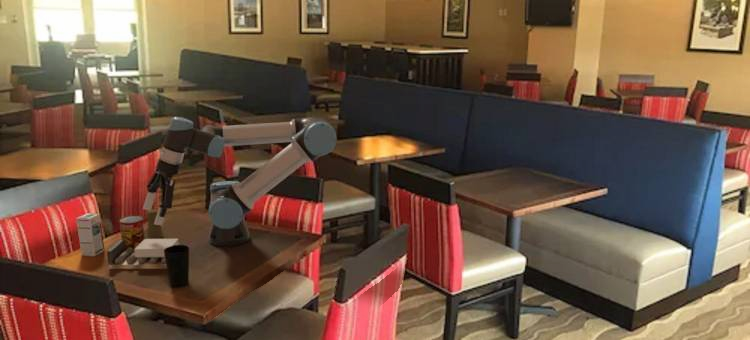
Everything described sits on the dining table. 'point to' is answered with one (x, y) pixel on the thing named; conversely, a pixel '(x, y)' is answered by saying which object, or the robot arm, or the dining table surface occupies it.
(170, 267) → the cup
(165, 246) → the slab
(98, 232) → the syrup box
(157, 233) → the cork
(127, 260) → the roller bed
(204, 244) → the dining table surface
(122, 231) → the canned food
